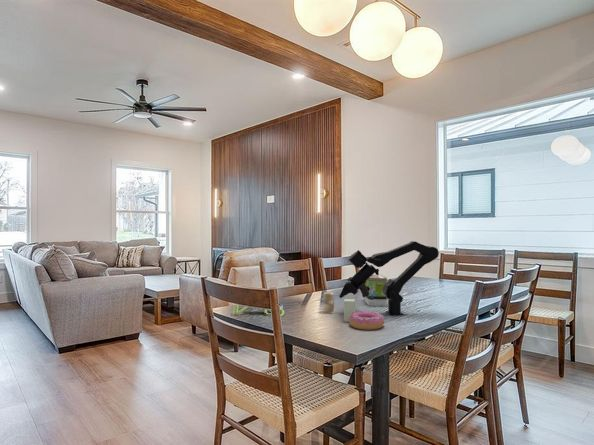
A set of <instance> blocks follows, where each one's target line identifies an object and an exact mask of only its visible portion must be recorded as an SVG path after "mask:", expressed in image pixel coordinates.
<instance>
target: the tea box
mask: <svg viewBox="0 0 594 445" xmlns="http://www.w3.org/2000/svg"><path fill="white" fill-rule="evenodd" d="M387 282H388V279H387V277H386V276H385V275H383V274H379V275H376V274H375V273H374V274H373V275H372V276H371V277H370V278H369V279H368V280H367V281H366V283H365V285H366V286H369V288H370V290H369V293H370V295H369V296H366V297H364V298H363V301H364V303H366V305H367V306H368V307H387V306H388V303H387V302H388V299H387V297H386V295H384V293H383V287H384V286H385V285H384V284H386V283H387Z"/></svg>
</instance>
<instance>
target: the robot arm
mask: <svg viewBox="0 0 594 445" xmlns="http://www.w3.org/2000/svg"><path fill="white" fill-rule="evenodd" d="M413 251H415V252H417V253H418V255H417V258H416V259H415V260H414V261H413V262H412V263H411V264H409V266H408V267H407V268H406V269H405V270H404V271H402V272H401V273H400V274H399V275H398V276H397V278H395V279H391V278H389V279H387V283H386V284H384V285H385V286H384V287H383V293H384V295H386V297H387V302H388V303H387V308H388V309H387V310H386V311H385V312H386V314H388V315H390V316H402V315H403V316H404V312H402V307H401V306H402V305H401V304H402V303H403V300H404V297H403V296H402V295H401V294H400V293H401V292H402V289H403V287H404V285H405V284H407V283H408V281H409V280H411V279H412V278H413V277H414V276H415V275H416V274H418V272H419V271H420V270H421V269H422V268H423V267H424V266H425V265H428V264H429V263H431V262H433V261H435V260H436V259H437V258H438V257H439V255H440V252H439V249H438V248H437V247H435V246H429V245H428V246H427V245H424V244H421V243H420V242H418V241H415V240H411V241H410V242H408V243H405V244H403V245H400V246H398V247H395V248H393V249H391V250H388V251H384V252H378V253H374V254H372V255H371V256H365V255H364V254H363V253H362V252H361V250H359V249H358V250H356V251H355V252H354V253H353V254H351V255H349V257H348V262H350V264H352V265H353V266H354V268H355V269H359V270H358V271H357V272H355V274H354V275H353V276H350V277H348V279H347V281H346V282H345V284H344V286H343V288H342V290H341V291H340V293H339V296H338V297H339V298H340V299H342V298H344V297H345V296H347V295H348V294H352V295H354V296H355V295H356V294H358V293H359V291H358V290H360V293H361V295H362V297H363V299H364V297H366V296H369V295H370V293H369V290H370V288H369V286H366V285H365V283H366V281H367V280H368V279H369V278H370V277H371V276H372V275H373V274H376V275H380V274H379V271H380V269H379V268H382V267H384V266H385V265H387V264H388V263H389V262H390V261H392V260H393V259H396V258H399V257H401V256H403V255H406V254H408V253H411V252H413ZM370 264H371V265H370ZM375 267H378V268H375Z"/></svg>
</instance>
